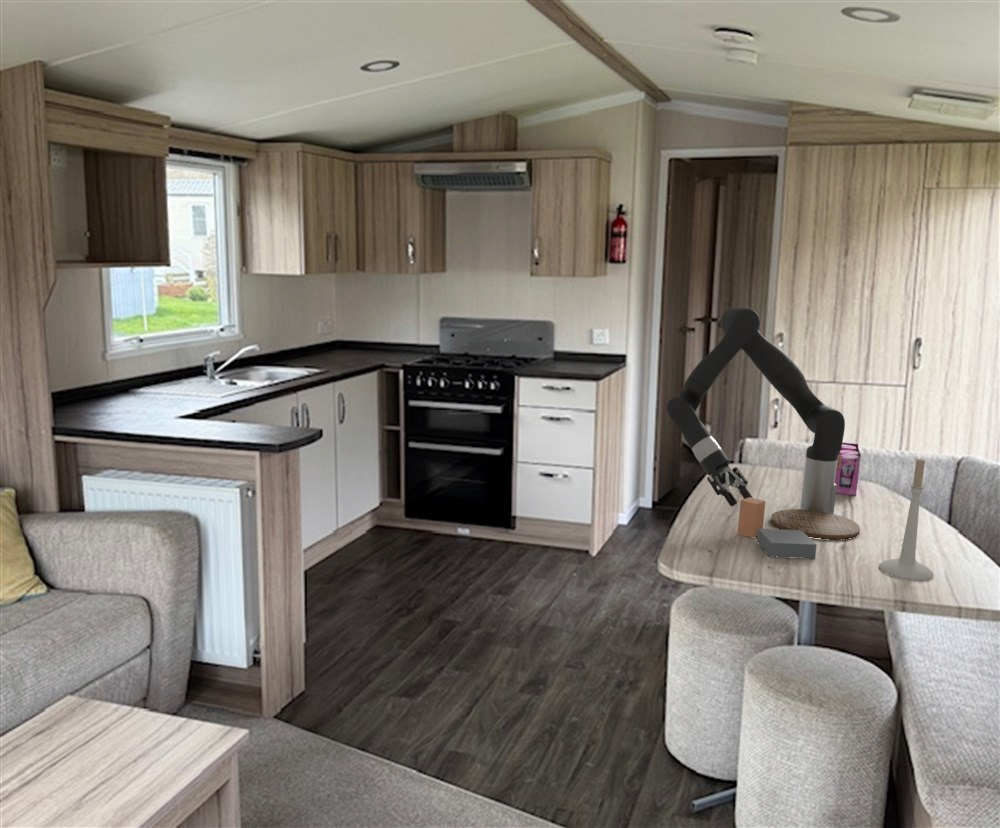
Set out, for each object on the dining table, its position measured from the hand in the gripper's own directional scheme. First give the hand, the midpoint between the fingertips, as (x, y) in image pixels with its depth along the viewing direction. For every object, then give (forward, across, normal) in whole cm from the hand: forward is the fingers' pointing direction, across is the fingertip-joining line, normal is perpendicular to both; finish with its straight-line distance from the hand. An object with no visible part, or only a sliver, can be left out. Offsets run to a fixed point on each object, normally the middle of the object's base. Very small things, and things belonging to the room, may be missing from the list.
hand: (742, 502), depth 258 cm
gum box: (+5, +77, +8) cm, 77 cm away
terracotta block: (+8, 0, +4) cm, 9 cm away
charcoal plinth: (+18, -5, -6) cm, 19 cm away
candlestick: (+38, +4, -26) cm, 46 cm away
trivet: (+15, +23, -2) cm, 27 cm away
